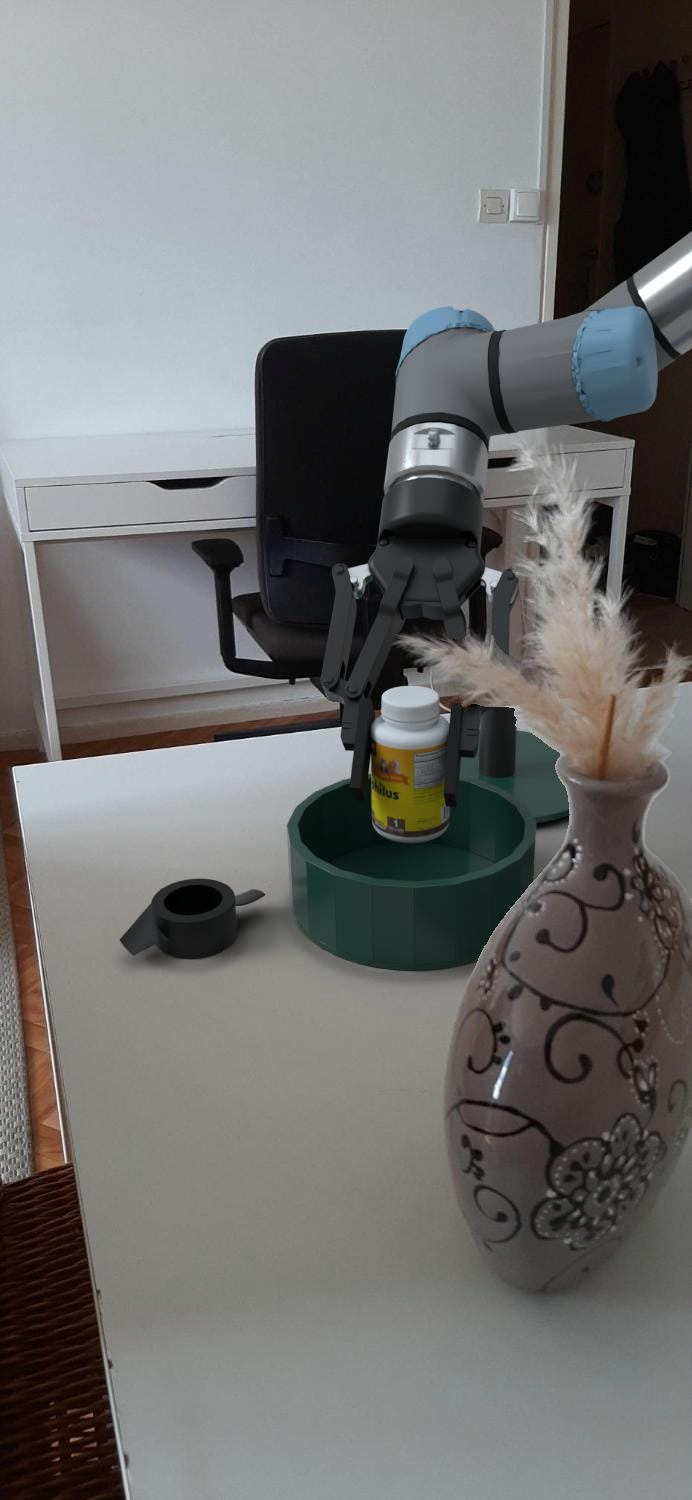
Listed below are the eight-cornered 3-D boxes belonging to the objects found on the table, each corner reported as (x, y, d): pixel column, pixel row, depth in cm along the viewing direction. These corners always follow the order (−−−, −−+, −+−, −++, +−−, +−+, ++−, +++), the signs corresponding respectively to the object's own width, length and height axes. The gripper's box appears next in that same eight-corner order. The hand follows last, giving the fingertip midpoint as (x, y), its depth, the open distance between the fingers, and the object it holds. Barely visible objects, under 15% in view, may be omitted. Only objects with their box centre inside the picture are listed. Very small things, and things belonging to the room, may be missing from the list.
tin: (535, 851, 91) (539, 777, 88) (527, 981, 75) (531, 895, 72) (318, 836, 94) (315, 764, 91) (266, 958, 78) (261, 876, 76)
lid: (601, 745, 109) (609, 643, 105) (606, 839, 92) (615, 722, 88) (406, 735, 113) (405, 636, 108) (376, 824, 96) (374, 711, 92)
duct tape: (267, 961, 78) (265, 925, 77) (119, 971, 77) (114, 934, 76) (266, 902, 85) (264, 867, 84) (130, 910, 84) (126, 875, 83)
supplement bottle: (359, 819, 84) (356, 688, 79) (427, 804, 86) (428, 675, 81) (392, 853, 79) (391, 716, 75) (463, 836, 81) (466, 701, 77)
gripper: (302, 470, 83) (257, 770, 75) (562, 473, 80) (544, 787, 72) (319, 525, 90) (279, 806, 82) (559, 531, 87) (542, 823, 79)
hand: (403, 796), depth 77 cm, fingers closed on supplement bottle, 6 cm apart
